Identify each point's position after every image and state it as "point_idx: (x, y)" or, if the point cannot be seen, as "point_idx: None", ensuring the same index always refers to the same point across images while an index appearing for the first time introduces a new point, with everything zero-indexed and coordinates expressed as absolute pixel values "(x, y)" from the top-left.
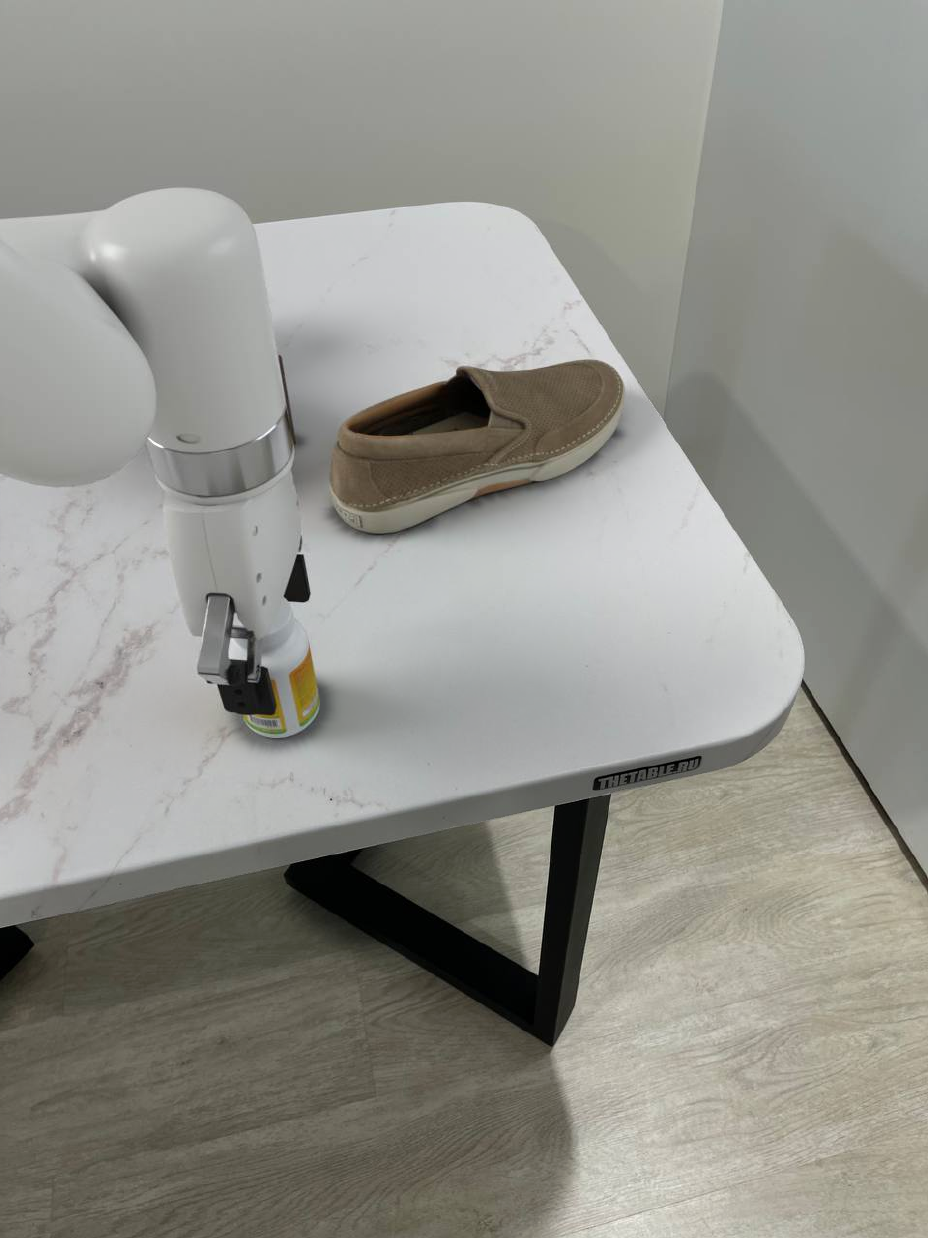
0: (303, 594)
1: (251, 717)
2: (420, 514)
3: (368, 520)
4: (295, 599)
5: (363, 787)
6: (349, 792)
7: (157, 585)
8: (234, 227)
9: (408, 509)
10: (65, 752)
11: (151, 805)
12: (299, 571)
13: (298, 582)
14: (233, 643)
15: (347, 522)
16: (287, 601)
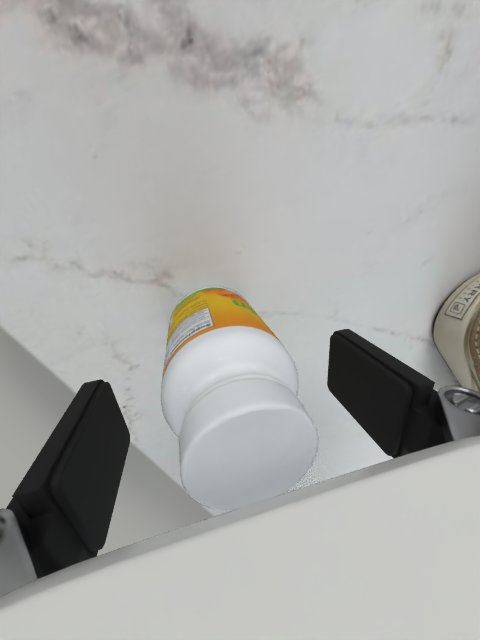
0: (337, 397)
1: (169, 327)
2: (450, 361)
3: (453, 326)
4: (331, 377)
5: (148, 423)
6: (138, 416)
7: (387, 68)
8: None
9: (460, 362)
10: (28, 24)
11: (16, 233)
12: (374, 438)
13: (355, 412)
14: (205, 372)
15: (453, 295)
16: (294, 484)
